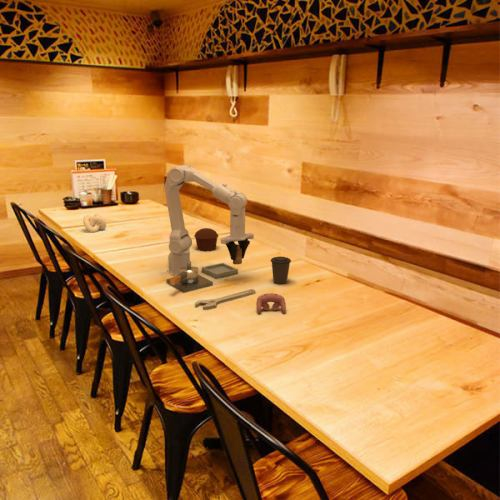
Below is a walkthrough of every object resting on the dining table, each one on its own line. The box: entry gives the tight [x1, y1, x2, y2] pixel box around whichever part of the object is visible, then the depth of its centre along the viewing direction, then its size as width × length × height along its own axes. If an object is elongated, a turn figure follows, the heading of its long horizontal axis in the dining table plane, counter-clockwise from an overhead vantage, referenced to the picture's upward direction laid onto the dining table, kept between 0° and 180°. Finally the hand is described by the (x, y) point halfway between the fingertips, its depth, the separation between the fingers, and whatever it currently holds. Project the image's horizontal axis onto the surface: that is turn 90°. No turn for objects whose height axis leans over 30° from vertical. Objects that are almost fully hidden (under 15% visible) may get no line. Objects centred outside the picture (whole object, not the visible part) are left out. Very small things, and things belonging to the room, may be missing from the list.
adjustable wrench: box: [194, 288, 256, 311], centre depth 167 cm, size 25×6×2 cm, turn 124°
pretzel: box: [82, 213, 107, 233], centre depth 260 cm, size 11×12×9 cm
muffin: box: [193, 227, 219, 252], centre depth 228 cm, size 12×11×10 cm
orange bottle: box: [232, 244, 243, 265], centre depth 185 cm, size 4×4×7 cm
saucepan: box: [169, 260, 199, 286], centre depth 177 cm, size 16×7×7 cm, turn 159°
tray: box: [201, 262, 239, 280], centre depth 195 cm, size 11×11×2 cm
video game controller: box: [256, 292, 287, 315], centre depth 158 cm, size 10×5×7 cm, turn 93°
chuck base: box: [166, 274, 214, 293], centre depth 182 cm, size 13×13×2 cm
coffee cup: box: [270, 255, 292, 285], centre depth 184 cm, size 8×8×10 cm
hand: (237, 258), depth 185 cm, fingers closed on orange bottle, 4 cm apart
